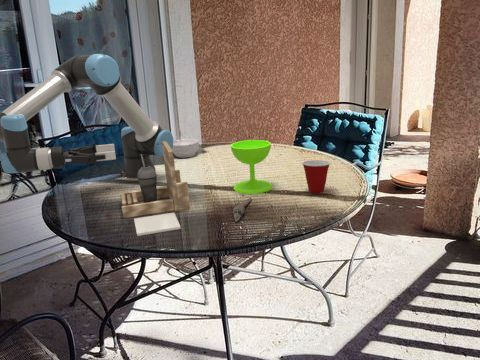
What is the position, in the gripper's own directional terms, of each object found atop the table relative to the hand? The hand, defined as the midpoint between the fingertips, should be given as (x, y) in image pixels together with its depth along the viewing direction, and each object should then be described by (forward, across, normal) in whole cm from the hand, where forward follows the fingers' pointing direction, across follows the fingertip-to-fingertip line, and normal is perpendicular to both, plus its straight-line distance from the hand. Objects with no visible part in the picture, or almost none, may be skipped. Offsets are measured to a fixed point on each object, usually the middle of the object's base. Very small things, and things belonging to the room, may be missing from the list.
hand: (115, 151), depth 163 cm
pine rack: (+12, 0, -22) cm, 25 cm away
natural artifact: (+41, +20, -23) cm, 51 cm away
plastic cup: (+73, +12, -22) cm, 77 cm away
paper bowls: (+36, -74, -22) cm, 85 cm away
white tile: (+10, +20, -22) cm, 32 cm away
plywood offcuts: (+3, 0, -22) cm, 23 cm away
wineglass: (+52, -4, -22) cm, 57 cm away
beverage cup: (+10, 0, -23) cm, 25 cm away
